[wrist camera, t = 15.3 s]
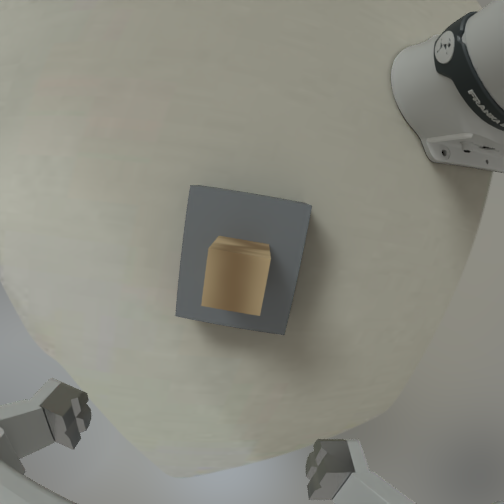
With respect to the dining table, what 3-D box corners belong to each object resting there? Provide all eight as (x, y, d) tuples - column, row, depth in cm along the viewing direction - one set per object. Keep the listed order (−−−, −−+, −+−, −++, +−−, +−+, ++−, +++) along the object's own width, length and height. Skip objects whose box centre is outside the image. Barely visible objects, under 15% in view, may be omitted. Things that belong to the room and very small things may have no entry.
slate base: (306, 203, 33) (311, 205, 29) (282, 319, 36) (284, 334, 32) (198, 185, 33) (190, 185, 29) (183, 302, 36) (175, 316, 32)
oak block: (269, 244, 30) (270, 258, 24) (260, 291, 31) (259, 315, 25) (218, 235, 30) (208, 248, 24) (212, 283, 31) (201, 305, 25)
